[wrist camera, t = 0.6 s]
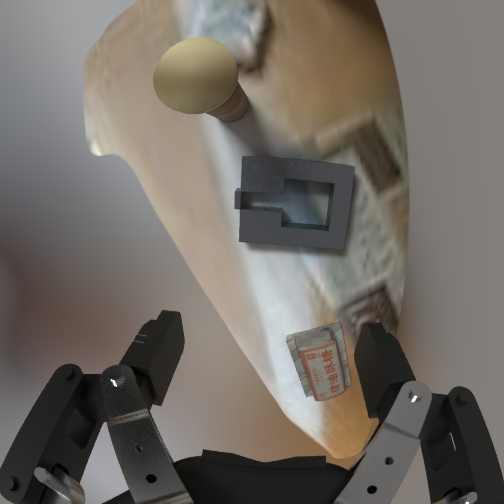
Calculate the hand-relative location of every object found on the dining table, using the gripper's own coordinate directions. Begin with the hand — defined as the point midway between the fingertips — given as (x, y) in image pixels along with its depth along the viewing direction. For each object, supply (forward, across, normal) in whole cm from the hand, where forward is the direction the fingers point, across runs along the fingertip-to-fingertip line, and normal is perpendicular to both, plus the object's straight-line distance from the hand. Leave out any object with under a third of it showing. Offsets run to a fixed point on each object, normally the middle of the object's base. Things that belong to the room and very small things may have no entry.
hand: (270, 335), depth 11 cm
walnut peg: (+28, +6, -13) cm, 32 cm away
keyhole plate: (+28, -2, 0) cm, 28 cm away
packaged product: (+28, -11, +30) cm, 43 cm away
